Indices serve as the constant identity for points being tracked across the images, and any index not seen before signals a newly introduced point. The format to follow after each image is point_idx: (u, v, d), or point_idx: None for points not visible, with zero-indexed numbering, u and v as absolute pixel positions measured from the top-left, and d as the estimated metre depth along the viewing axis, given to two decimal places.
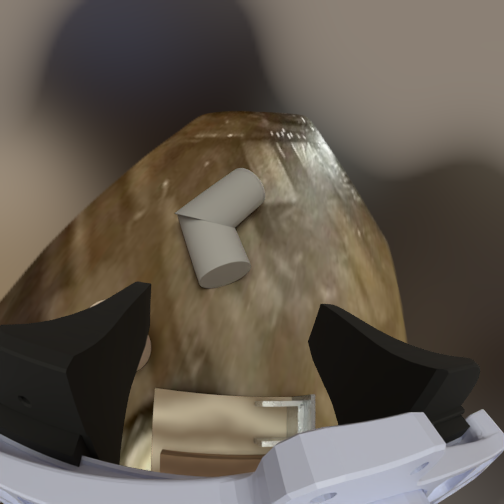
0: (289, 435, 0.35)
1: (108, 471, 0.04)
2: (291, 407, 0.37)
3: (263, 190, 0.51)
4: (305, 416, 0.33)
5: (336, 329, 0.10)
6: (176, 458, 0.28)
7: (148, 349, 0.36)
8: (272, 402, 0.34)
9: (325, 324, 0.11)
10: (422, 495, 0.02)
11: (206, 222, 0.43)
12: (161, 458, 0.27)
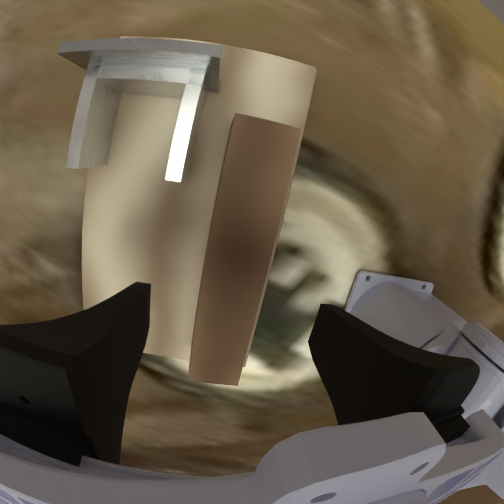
0: None
1: (108, 471, 0.04)
2: (115, 87, 0.13)
3: None
4: (122, 60, 0.10)
5: (336, 329, 0.10)
6: (196, 359, 0.18)
7: None
8: (73, 143, 0.12)
9: (325, 324, 0.11)
10: (422, 495, 0.02)
11: None
12: (197, 379, 0.18)
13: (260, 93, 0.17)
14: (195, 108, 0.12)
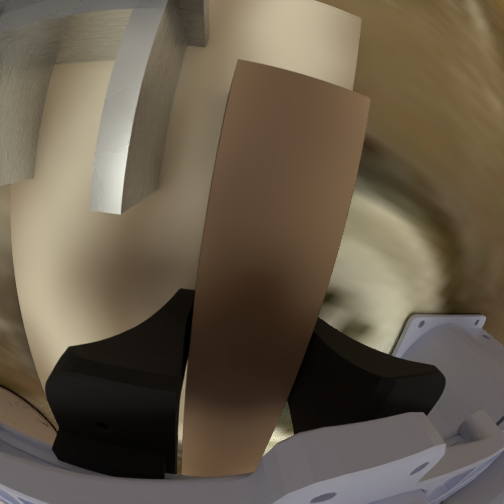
0: None
1: None
2: (35, 52, 0.06)
3: None
4: None
5: None
6: (189, 463, 0.10)
7: None
8: None
9: None
10: (422, 495, 0.02)
11: None
12: None
13: (277, 48, 0.09)
14: (149, 51, 0.05)
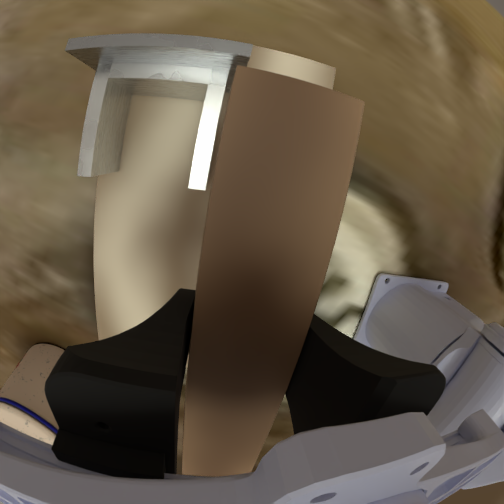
0: (203, 97, 0.14)
1: None
2: (126, 88, 0.13)
3: None
4: (137, 59, 0.10)
5: None
6: (189, 457, 0.10)
7: (42, 364, 0.17)
8: (83, 149, 0.11)
9: None
10: (422, 495, 0.02)
11: None
12: (194, 473, 0.11)
13: None
14: (219, 110, 0.12)
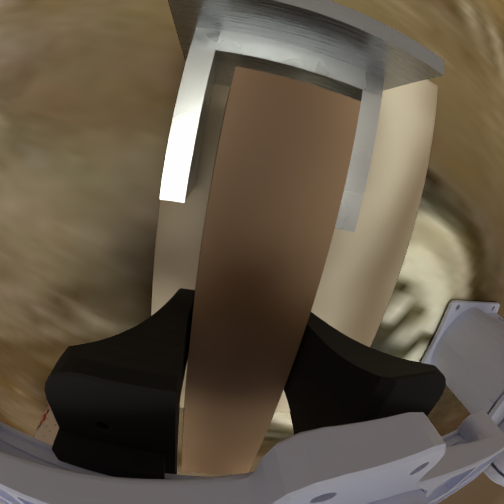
0: None
1: None
2: (219, 72, 0.09)
3: None
4: (274, 30, 0.06)
5: None
6: (189, 454, 0.10)
7: None
8: (172, 157, 0.08)
9: None
10: (422, 495, 0.02)
11: None
12: (194, 470, 0.11)
13: (391, 109, 0.13)
14: (375, 128, 0.09)
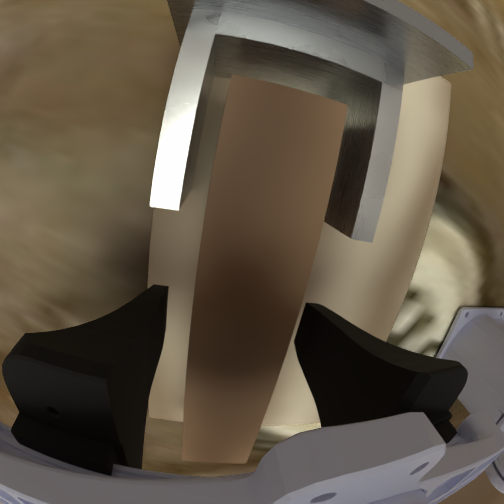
0: (331, 95, 0.10)
1: (141, 478, 0.04)
2: (219, 62, 0.08)
3: None
4: (283, 11, 0.05)
5: (320, 328, 0.10)
6: (189, 442, 0.11)
7: None
8: (164, 157, 0.07)
9: (309, 323, 0.11)
10: (422, 495, 0.02)
11: None
12: (193, 459, 0.12)
13: (404, 106, 0.11)
14: (395, 126, 0.07)
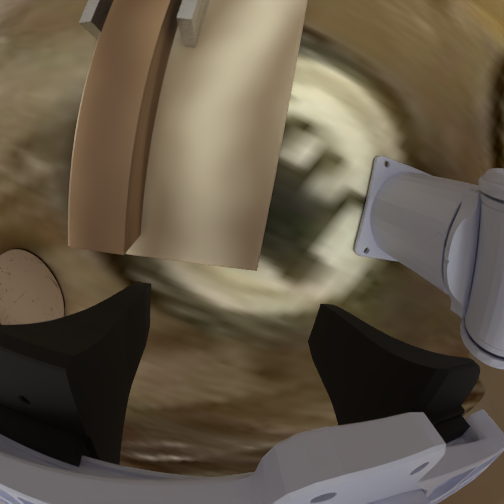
0: None
1: (108, 471, 0.04)
2: None
3: None
4: None
5: (336, 329, 0.10)
6: (74, 211, 0.13)
7: (4, 262, 0.15)
8: (89, 4, 0.09)
9: (325, 324, 0.11)
10: (422, 495, 0.02)
11: None
12: (78, 245, 0.14)
13: None
14: None
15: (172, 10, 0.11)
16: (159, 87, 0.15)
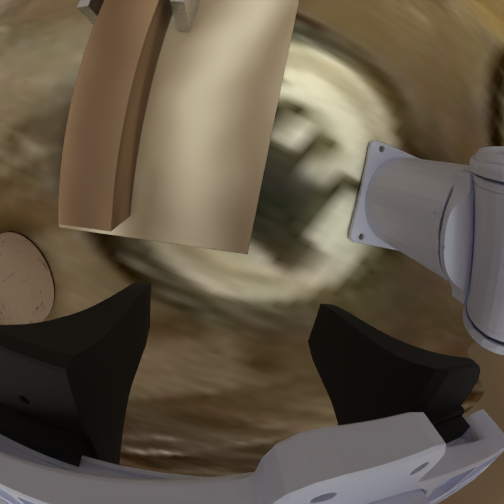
0: None
1: (108, 471, 0.04)
2: None
3: None
4: None
5: (336, 329, 0.10)
6: (64, 187, 0.13)
7: None
8: None
9: (325, 324, 0.11)
10: (422, 495, 0.02)
11: None
12: (66, 222, 0.13)
13: None
14: None
15: None
16: (152, 69, 0.14)
